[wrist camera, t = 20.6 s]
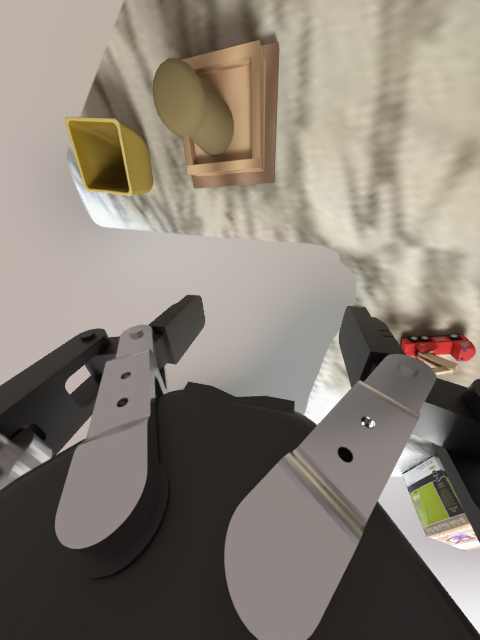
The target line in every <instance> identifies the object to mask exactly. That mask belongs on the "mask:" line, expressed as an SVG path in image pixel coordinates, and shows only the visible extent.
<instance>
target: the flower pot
mask: <svg viewBox="0 0 480 640" xmlns="http://www.w3.org/2000/svg"><path fill="white" fill-rule="evenodd" d="M65 122H66V126H67V129H68V133H69V136H70V139H71V143H72V146H73V149H74V153H75V156H76V159H77V163H78V166H79V170H80V173H81V177H82V180H83V183H84V186H85V188H86V190H87V191H91V192H104V193H113V194H121V195H128V196H132V195H138V194H144V193H147V192H149V191H150V190H151V188H152V185H153V178H152V170H151V163H150V155H149V151H148V148H147V145H146V143H145V142H144V140H143V139H142V137H141V136H140V135H139V134H138V133H136V132H135V131H134V130H132V129H131V128H129V127H128V126H126V125H125V124H123V123H121V122H120V121H118V120H117V119H114V118H84V117H66V118H65Z"/></svg>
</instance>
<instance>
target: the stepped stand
mask: <svg viewBox="0 0 480 640" xmlns="http://www.w3.org/2000/svg"><path fill="white" fill-rule="evenodd" d="M182 61H185V62H187V63H188V64H189V65H190V66H191V67H192V68H193V69H194V70H195V72H196V73H197V75H198V77H199V79H200V81H201V82H202V85H203V87H204V88H205V89H207V90H208V91H210V92H211V93H213V94H214V95H216V96H218V97H219V98H221V99H222V100H223V101H224V102H225V103H226V104H227V105H228V106H229V109H230V111H231V113H232V116H233V121H234V134H233V138H232V142H231V143H230V145H229V147H228V149H227V150H226V151H225V152H224V153H223V154H220V155H218V156H210V155H208V154H206V153H205V152H204V151H202V150H201V149H200V148H199V147H198V146H197V145H196V144H195V143H194V142H193V141H192V140H191V139H190V138H189V137H188V136H182V138H183V144H184V151H185V158H186V164H187V171H188V174H190V175H192V178H193V185H194V188H208V187H221V186H234V185H247V184H260V183H273V182H274V179H275V152H276V125H277V98H278V71H279V43H278V42H275V43H271V44H267V45H263V46H261V42H260V40H257V41H253V42H249V43H245V44H241V45H238V46H234V47H230V48H226V49H222V50H218V51H214V52H210V53H206V54H202V55H198V56H194V57H190V58H186V59H182Z"/></svg>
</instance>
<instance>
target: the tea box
mask: <svg viewBox="0 0 480 640" xmlns="http://www.w3.org/2000/svg"><path fill="white" fill-rule="evenodd" d="M402 476H403V479H404V481H405V484H406V486H407V488H408V491H409V494H410V496H411V499H412V501H413V504H414V506H415V509H416V511H417V514H418V516H419V519H420V521H421V524H422V526H423V529H424V531H425V534H426V536H427V537H429V538H432V539H435V540H438V541H441V542H443V543H446V544H449V545H452V546H455V547H457V548H460V549H463V550H465V551H466V550H471V549H475V548H480V543H479V541H478V539H477V537H476V535H475V533H474V531H473V529H472V526H471V524H470V522H469V520H468V518H467V516H466V514H465V512H464V510H463V508H462V506H461V503H460V501H459V499H458V497H457V495H456V493H455V491H454V489H453V487H452V485H451V483H450V480H449V478H448V476H447V474H446V472H445V470H444V468H443V466H442V464H441V462H440V460H439V458H438V457H435V456H433V457H432V458H430V459H428V460H427V461H425V462H423V463H422V464H420V465H418V466H417V467H415V468H413V469H411V470H410V471H408V472H406V473H405V474H403V475H402Z"/></svg>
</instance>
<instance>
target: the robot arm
mask: <svg viewBox="0 0 480 640" xmlns="http://www.w3.org/2000/svg"><path fill="white" fill-rule="evenodd" d="M204 324H205V316H204V310H203V304H202V299H201V297H200V296H198V295H186V296H185V297H184V298H183V299H182V300H181V301H179V302H178V303H176V304H174V305H172V306H171V307H169V308H168V309H167V310H166V311H165V312H163V313H162V315H160V316H159V317H157V318H156V319H155V320H154V321H153V322H151V323H150V324H149V325H139V326H135V327H132V328H129V329H127V330H126V331H124V332H123V333H122V334H121V336H120V337H110V338H109V337H108V335H107V333H106V331H105V330H104V329H92V330H88V331H85V332H83V333H80V334H79V335H77V336H75V337H74V338H72V339H71V340H69V341H68V342H66V343H65V344H63V345H62V346H60V347H59V348H57V349H56V350H54V351H53V352H51V353H49V354H48V355H46V356H45V357H43V358H42V359H40V360H39V361H37V362H36V363H34V364H33V365H31V366H30V367H28V368H27V369H25V370H24V371H22V372H21V373H19V374H18V375H16V376H15V377H13V378H12V379H10V380H8V381H7V382H5V383H4V384H2V385H1V386H0V640H480V634H479V633H478V631H477V630H476V629H475V628H474V626H473V625H472V624H471V623H470V621H469V620H468V618H467V617H466V616H465V615H464V613H463V612H462V611H461V609H460V608H459V607H458V605H457V604H456V603H455V602H454V600H453V599H452V598H451V596H450V595H449V594H448V592H447V591H446V590H445V588H444V587H443V586H442V585H441V583H440V582H439V581H438V579H437V578H436V577H435V575H434V574H433V573H432V572H431V570H430V569H429V568H428V566H427V565H426V564H425V562H424V561H423V560H422V558H421V557H420V556H419V555H418V553H417V552H416V551H415V549H414V548H413V547H412V545H411V544H410V543H409V542H408V540H407V539H406V538H405V536H404V535H403V534H402V532H401V531H400V530H399V528H398V527H397V526H396V524H395V523H394V522H393V521H392V520H391V518H390V517H389V515H388V514H387V513H386V511H385V510H384V509H383V507H382V506H381V505H380V504H379V502H378V499H379V496H380V495H381V493H382V491H383V489H384V487H385V485H386V483H387V481H388V479H389V477H390V475H391V473H392V471H393V469H394V467H395V465H396V463H397V461H398V459H399V457H400V455H401V453H402V451H403V449H404V447H405V445H406V443H407V441H408V439H409V437H410V436H411V434H414V435H416V436H418V437H421V438H423V439H425V440H427V441H430V442H431V443H432V445H433V447H434V449H435V451H436V453H437V455H438V458H439V460H440V462H441V464H442V466H443V468H444V470H445V472H446V474H447V476H448V478H449V480H450V483H451V485H452V487H453V489H454V491H455V493H456V495H457V497H458V499H459V501H460V503H461V506H462V508H463V510H464V512H465V514H466V516H467V518H468V520H469V522H470V524H471V526H472V529H473V531H474V533H475V535H476V537H477V539H478V541H479V543H480V379H477V380H475V381H474V382H473V383H472V384H471V385H470V386H469V387H468V388H467V387H464V386H461V385H457V384H454V383H451V382H448V381H444V380H441V379H438V378H437V377H436V374H435V372H434V371H433V370H432V369H431V368H430V367H429V366H428V365H427V364H425V363H424V362H422V361H420V360H418V359H416V358H413V357H410V356H407V355H406V353H405V352H404V351H403V349H402V348H401V346H400V345H399V343H398V342H397V340H396V339H395V338H394V336H393V335H392V333H391V332H390V330H389V329H388V327H387V326H386V324H385V323H383V322H382V321H380V320H379V319H377V318H374V317H371V316H370V314H369V312H368V311H367V309H366V308H365V307H357V306H347V308H346V310H345V313H344V317H343V321H342V324H341V328H340V332H339V345H340V348H341V352H342V355H343V359H344V363H345V366H346V370H347V373H348V377H349V380H350V384H351V389H350V390H349V391H348V393H347V394H346V395H345V396H344V397H343V398H342V399H341V400H340V401H339V402H338V403H337V405H336V406H335V407H334V408H333V409H332V410H331V411H330V412H329V413H328V414H327V415H326V417H325V418H324V419H323V420H322V421H321V422H320V423H319V424H318V425H316V424H315V423H314V422H313V421H311V420H310V419H309V418H307V417H306V416H304V415H302V414H300V413H298V412H296V411H294V401H290V400H285V399H280V398H274V397H269V396H252V397H235V396H232V395H230V394H228V393H226V392H224V391H221V390H219V389H217V388H215V387H213V386H209V385H204V384H198V383H192V382H188V383H187V385H186V386H185V388H184V390H177V391H172V392H169V389H168V381H167V373H166V368H165V365H166V364H167V363H171V364H177V363H178V361H179V360H180V359H181V357H182V356H183V355H184V353H185V352H186V351H187V349H188V348H189V346H190V345H191V344H192V342H193V341H194V340H195V338H196V337H197V336H198V334H199V333H200V331H201V330H202V329H203V327H204ZM83 365H85V366H86V368H87V369H88V371H89V372H90V374H91V376H90V377H89V378H88V379H87V380H85V382H83V383H82V384H81V385H80V386H79V387H78V388H77V389H76V390H75V391H74V392H72V393H71V394H70V395H69V393H68V392H67V391H66V389H65V383H66V381H67V379H68V378H69V377H70V376H71V375H72V374H74V373H75V372H76V371H77V370H78V369H80V368H81V367H82V366H83ZM91 415H92V418H91V422H90V426H89V430H88V434H87V436H86V438H85V439H84V440H82V441H80V442H78V443H77V444H75V445H73V446H72V447H70V448H68V449H66V450H65V451H63V452H61V453H59V454H58V455H56V454H57V453H58V452H59V451H60V450H61V449H62V448H63V447H64V445H65V444H66V443H67V442H68V441H69V440H70V439H71V438H72V436H73V435H74V434H75V433H76V432H77V431H78V430H79V429H80V427H81V426H82V425H83V424H84V423H85V422H86V421H87V420H88V419H89V417H90V416H91Z"/></svg>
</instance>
